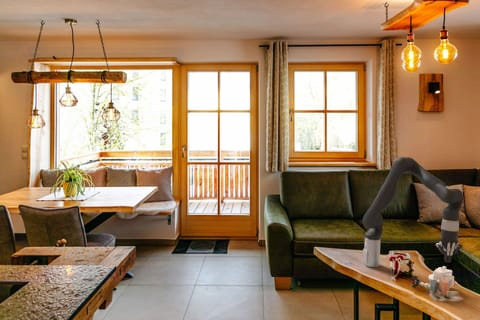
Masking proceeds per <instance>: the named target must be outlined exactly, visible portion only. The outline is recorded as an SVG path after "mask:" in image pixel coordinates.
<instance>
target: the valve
mask: <svg viewBox="0 0 480 320" xmlns="http://www.w3.org/2000/svg"><path fill="white" fill-rule="evenodd" d="M411 284H412V286H411V287H412V288H414V289H417V287H419V286H422V287H424V288H425V289H426V290H427V289H429V293H431V290H430V282H426V283H425V282H422V281H420V279H419V277H418V275H414V277H413V278H412V282H411Z"/></svg>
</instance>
